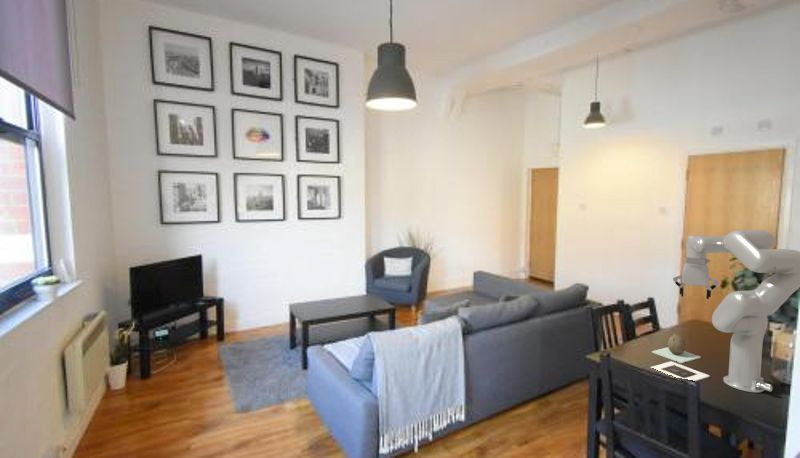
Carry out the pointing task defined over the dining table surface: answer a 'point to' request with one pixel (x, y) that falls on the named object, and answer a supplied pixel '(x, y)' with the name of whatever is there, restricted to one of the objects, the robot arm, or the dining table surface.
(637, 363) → the dining table surface
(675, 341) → the decorative egg
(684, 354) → the sage mat
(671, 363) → the white square frame
